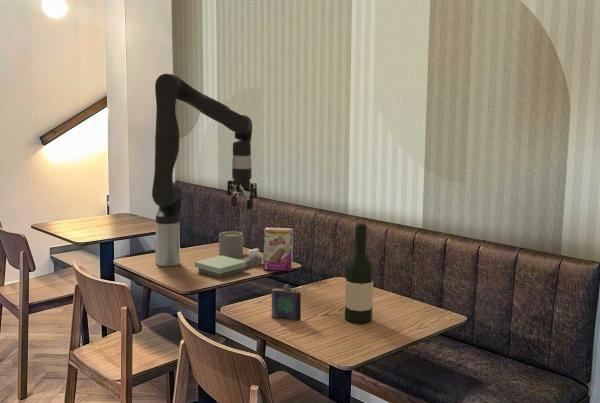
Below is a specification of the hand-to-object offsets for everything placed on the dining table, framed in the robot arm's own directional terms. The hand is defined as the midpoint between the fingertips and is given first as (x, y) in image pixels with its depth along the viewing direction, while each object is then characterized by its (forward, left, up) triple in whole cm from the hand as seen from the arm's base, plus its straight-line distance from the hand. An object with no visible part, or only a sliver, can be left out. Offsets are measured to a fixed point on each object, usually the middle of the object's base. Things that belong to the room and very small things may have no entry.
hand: (241, 208), depth 239 cm
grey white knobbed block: (0, +3, -24) cm, 24 cm away
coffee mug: (-15, +10, -24) cm, 30 cm away
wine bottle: (+69, -18, -24) cm, 75 cm away
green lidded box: (-1, -11, -24) cm, 26 cm away
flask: (+52, -32, -24) cm, 66 cm away
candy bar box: (+13, +7, -24) cm, 28 cm away
